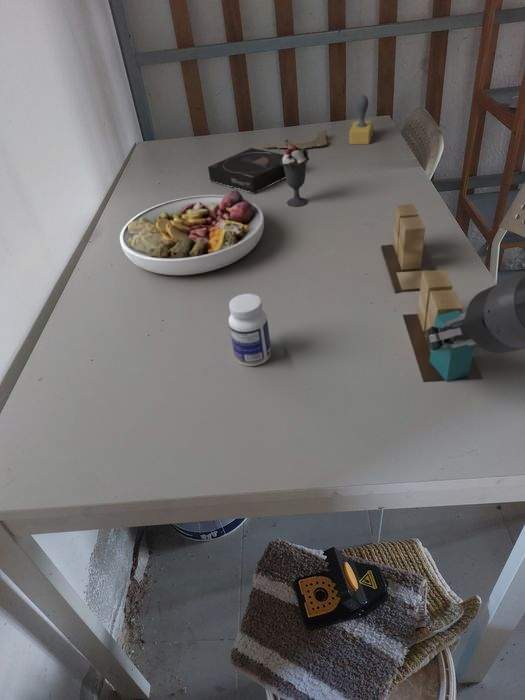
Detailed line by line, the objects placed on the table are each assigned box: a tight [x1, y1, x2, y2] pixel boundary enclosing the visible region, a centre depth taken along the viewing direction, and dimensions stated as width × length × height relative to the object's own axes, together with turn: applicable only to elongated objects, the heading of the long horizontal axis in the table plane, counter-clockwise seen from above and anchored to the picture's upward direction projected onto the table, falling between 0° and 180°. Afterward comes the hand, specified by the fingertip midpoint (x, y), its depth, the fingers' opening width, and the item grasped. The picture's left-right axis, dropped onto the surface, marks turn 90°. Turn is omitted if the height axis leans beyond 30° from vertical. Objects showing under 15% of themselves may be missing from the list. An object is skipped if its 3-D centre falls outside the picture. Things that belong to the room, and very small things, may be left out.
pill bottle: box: [228, 293, 272, 367], centre depth 77 cm, size 6×6×10 cm
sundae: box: [280, 139, 310, 208], centre depth 118 cm, size 7×7×15 cm
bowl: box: [119, 189, 265, 276], centre depth 108 cm, size 30×30×8 cm
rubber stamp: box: [349, 94, 374, 145], centre depth 150 cm, size 10×6×12 cm, turn 165°
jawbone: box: [262, 129, 329, 150], centre depth 153 cm, size 9×20×2 cm, turn 105°
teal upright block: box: [429, 310, 476, 382], centre depth 70 cm, size 3×5×8 cm
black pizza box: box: [207, 147, 286, 194], centre depth 137 cm, size 16×17×4 cm
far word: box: [380, 203, 435, 295], centre depth 92 cm, size 8×17×9 cm, turn 178°
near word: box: [402, 269, 484, 383], centre depth 75 cm, size 8×16×9 cm, turn 178°
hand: (444, 338), depth 72 cm, fingers closed on teal upright block, 3 cm apart
